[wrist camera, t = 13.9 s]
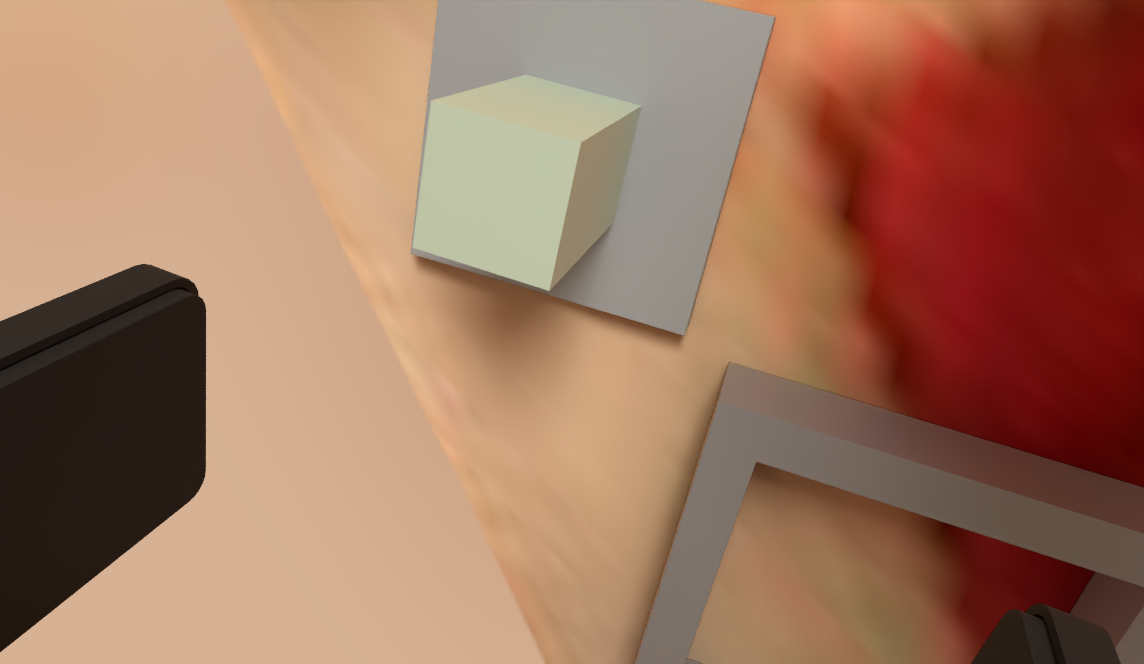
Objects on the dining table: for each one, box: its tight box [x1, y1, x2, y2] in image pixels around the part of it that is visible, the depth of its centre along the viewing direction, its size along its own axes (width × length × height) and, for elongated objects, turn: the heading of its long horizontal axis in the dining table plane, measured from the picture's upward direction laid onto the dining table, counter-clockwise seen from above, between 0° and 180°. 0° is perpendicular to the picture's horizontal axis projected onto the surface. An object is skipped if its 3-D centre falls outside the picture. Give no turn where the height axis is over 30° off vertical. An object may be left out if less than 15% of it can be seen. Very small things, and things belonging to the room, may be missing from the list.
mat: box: [411, 0, 776, 335], centre depth 31 cm, size 12×12×1 cm
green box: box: [413, 75, 642, 291], centre depth 27 cm, size 4×4×8 cm
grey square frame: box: [634, 362, 1144, 664], centre depth 33 cm, size 18×18×4 cm
